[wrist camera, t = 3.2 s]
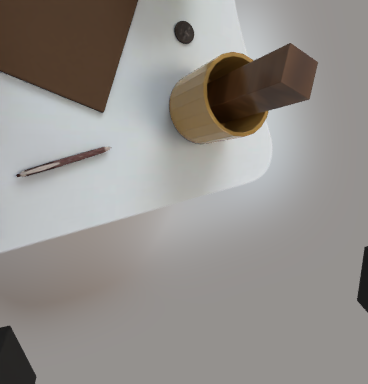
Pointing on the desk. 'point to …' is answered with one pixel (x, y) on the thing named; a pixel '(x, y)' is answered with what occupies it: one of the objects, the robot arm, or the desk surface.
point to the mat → (65, 45)
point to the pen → (62, 162)
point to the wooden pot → (199, 106)
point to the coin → (184, 32)
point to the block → (263, 84)
